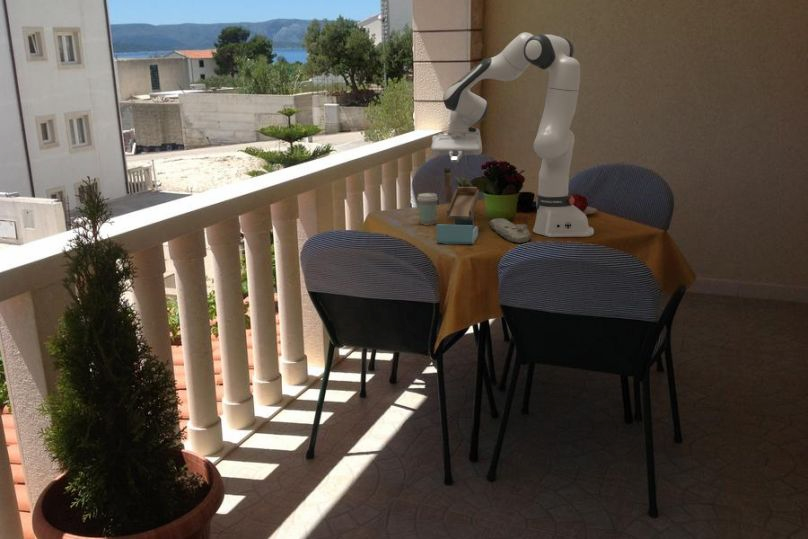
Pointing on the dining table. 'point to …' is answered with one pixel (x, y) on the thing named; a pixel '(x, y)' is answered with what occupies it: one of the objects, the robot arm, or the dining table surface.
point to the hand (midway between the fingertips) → (454, 161)
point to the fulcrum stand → (465, 221)
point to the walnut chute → (460, 199)
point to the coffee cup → (427, 207)
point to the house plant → (462, 183)
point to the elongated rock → (511, 230)
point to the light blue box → (456, 234)
